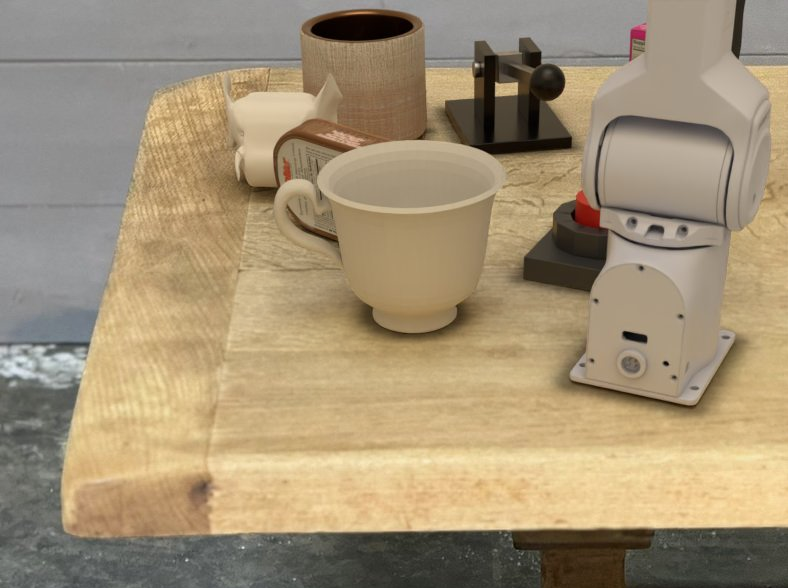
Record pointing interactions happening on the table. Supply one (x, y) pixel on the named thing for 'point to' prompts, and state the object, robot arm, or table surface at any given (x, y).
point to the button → (586, 212)
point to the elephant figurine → (271, 124)
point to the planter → (370, 69)
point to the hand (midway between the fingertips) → (782, 68)
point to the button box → (568, 252)
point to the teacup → (404, 225)
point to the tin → (315, 164)
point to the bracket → (505, 110)
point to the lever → (530, 75)
